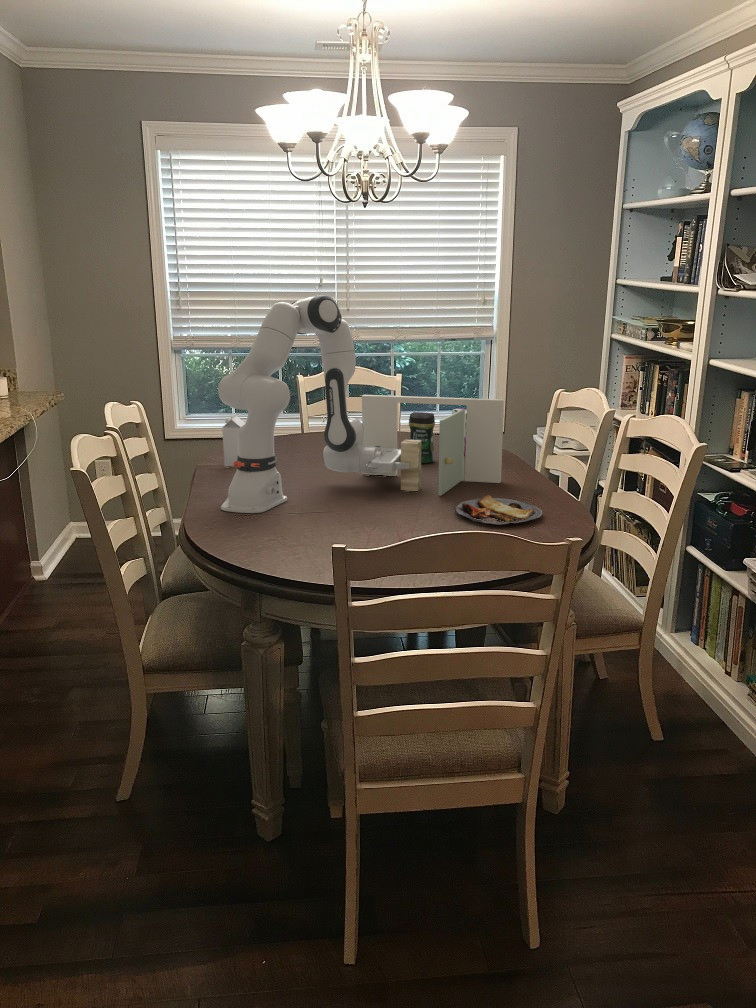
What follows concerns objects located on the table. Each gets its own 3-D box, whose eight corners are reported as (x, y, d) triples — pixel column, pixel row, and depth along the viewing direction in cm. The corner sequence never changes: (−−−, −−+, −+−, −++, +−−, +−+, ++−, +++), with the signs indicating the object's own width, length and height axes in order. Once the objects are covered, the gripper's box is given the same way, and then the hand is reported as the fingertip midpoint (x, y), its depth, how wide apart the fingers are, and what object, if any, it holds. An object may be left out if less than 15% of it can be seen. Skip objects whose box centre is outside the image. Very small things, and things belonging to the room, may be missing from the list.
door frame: (500, 483, 272) (503, 400, 264) (362, 475, 283) (361, 395, 275) (500, 481, 274) (504, 399, 266) (364, 473, 285) (363, 394, 277)
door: (468, 479, 274) (470, 409, 268) (447, 496, 255) (448, 421, 248) (460, 478, 275) (462, 409, 269) (438, 495, 256) (439, 420, 249)
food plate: (439, 513, 239) (439, 501, 238) (492, 499, 253) (493, 489, 252) (502, 535, 221) (503, 523, 220) (556, 520, 235) (557, 508, 234)
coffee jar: (405, 463, 300) (406, 413, 295) (411, 458, 308) (411, 410, 302) (431, 464, 298) (431, 414, 292) (436, 460, 305) (437, 411, 300)
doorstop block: (417, 492, 262) (417, 443, 257) (400, 491, 263) (401, 442, 258) (420, 487, 267) (421, 440, 262) (404, 486, 268) (404, 439, 264)
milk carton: (248, 463, 300) (245, 413, 295) (243, 468, 294) (240, 416, 288) (229, 463, 301) (226, 412, 296) (224, 467, 294) (221, 416, 289)
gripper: (363, 457, 255) (406, 460, 252) (378, 444, 274) (418, 446, 271) (363, 477, 257) (405, 479, 254) (378, 462, 276) (418, 464, 273)
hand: (412, 462), depth 262 cm, fingers open, 8 cm apart
